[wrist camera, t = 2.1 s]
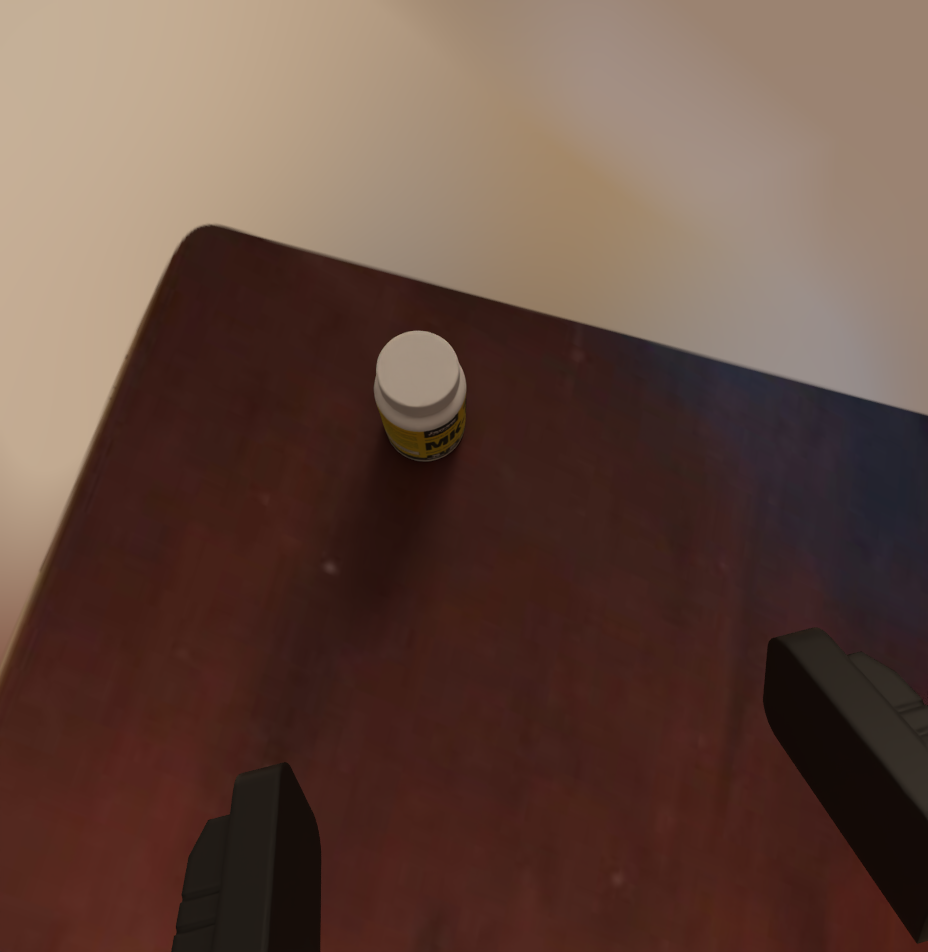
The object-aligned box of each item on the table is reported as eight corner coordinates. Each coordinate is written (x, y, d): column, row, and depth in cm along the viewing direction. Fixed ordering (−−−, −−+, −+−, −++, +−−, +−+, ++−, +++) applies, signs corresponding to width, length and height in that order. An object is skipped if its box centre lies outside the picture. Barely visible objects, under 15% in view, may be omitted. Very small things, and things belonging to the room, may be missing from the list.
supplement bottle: (433, 478, 40) (425, 435, 31) (370, 432, 40) (346, 378, 32) (481, 415, 41) (486, 357, 32) (418, 372, 41) (407, 304, 33)
